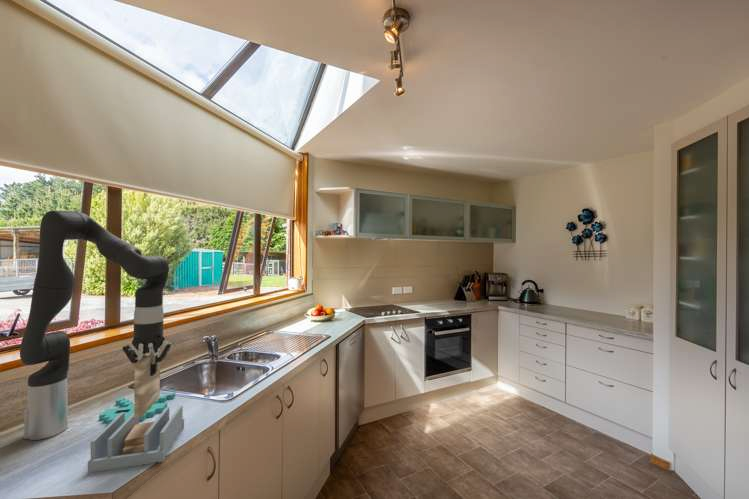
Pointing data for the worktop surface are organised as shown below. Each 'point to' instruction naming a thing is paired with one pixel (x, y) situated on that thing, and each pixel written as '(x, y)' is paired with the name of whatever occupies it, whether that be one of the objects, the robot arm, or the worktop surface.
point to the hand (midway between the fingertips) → (148, 375)
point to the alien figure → (129, 409)
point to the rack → (118, 430)
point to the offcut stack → (136, 439)
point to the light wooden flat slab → (145, 386)
